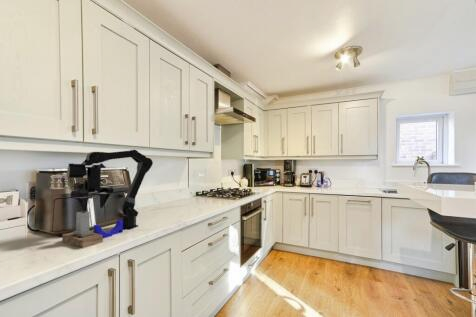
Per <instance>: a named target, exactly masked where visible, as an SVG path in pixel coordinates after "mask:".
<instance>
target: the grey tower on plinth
mask: <svg viewBox="0 0 476 317" xmlns="http://www.w3.org/2000/svg"><path fill="white" fill-rule="evenodd" d="M90 217H91V216H90V211H87V210H86V211H83V210H82V211H77V212H76V219H75V221H76V223H75V224H76V225H75V230H74V231H72V232H73V236H74V237H75V236H78V237H80V238H85V237H88V236H92V233H93V231H92V230H90Z"/></svg>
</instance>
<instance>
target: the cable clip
mask: <svg viewBox="0 0 476 317" xmlns="http://www.w3.org/2000/svg"><path fill="white" fill-rule="evenodd" d="M123 230H124V228H123V219H122V220H121V219H116V223H115V225H114V226H113V228H112V229H110V230H108V231H103V229H102V226H101V225H100V224H94V225H93V233H96V234H100V235H103V239H106V238H109V237H112V236H114V235H118V234H120V233H121V234H122V233H123V232H124V231H123Z"/></svg>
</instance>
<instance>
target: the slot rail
mask: <svg viewBox="0 0 476 317" xmlns="http://www.w3.org/2000/svg"><path fill="white" fill-rule="evenodd" d="M73 232H74V231H72V232H69V233H63V234H62V240H61V241H62V243H65V244H69V245H72V246H75V247H78V248H80V249H81V248H82V249H85V248H88V247H91V246H95V245H98V244H101V243H103V242H104V238H103V235H100V234H96V233H94V232H92V236H88V237H85V238H80V237H78V236H75V237H74V236H73Z"/></svg>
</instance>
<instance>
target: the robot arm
mask: <svg viewBox="0 0 476 317" xmlns="http://www.w3.org/2000/svg"><path fill="white" fill-rule="evenodd" d="M125 158H131V159H132V160H133V161H134V162H135V163H137V165H136V173H135V175H134V177H133V179H132V182H131V185H130V187H129V189H128V191H127V193H126V196H124V197H123V198H122V197H120V199H119V202H118V204H117V210H118V212H119V213H121V215H122V220H123V230H124V229H125V230H131V229H134V228H137V227H139V224H137V217H138V215H139V211H138V210H136V209H135V205H136V197H137V194H138V193H139V189H140V187H141V185H142V183H143V180H144V178H145V176H146V174H147V173H148V172H149V171H150V169H151V168H152V166H153V165H154V164H153V163H154V162H153V160H152V159H151V158H150V157H147V156H145V155H144V154H142V153H141V152H139V151H138V150H136V149H130V150H122V151H114V152H104V151H91V152H90V151H89V152H88V153H87V154H86V158H85V160H84V161H82V162H81V163H67V164H68V166H67V170H66V178H67V179H84V177H85V176H86V179H84V182H83V183H81V182H75V183H74V184H73V190H72V191H71V192H70V198H73V199H76V200H77V201H78V203H79V205H80V207H81V209H82V211H87V208H88V202H89V199H90V197H89V195H93V194H94V195H95V194H98V197H99V207H100V209H103V207H104V206H105V204H106V203H107V201H108V199H109V197H110V196H111V195H112V194H113V193H114V188H113V187H112V186H101V185H102V184H101V183H102V182H104V179H102V169H107V166H105V165H104V164H103V162H107V161H109V160H110V161H111V160H117V159H118V160H119V159H125Z"/></svg>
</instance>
